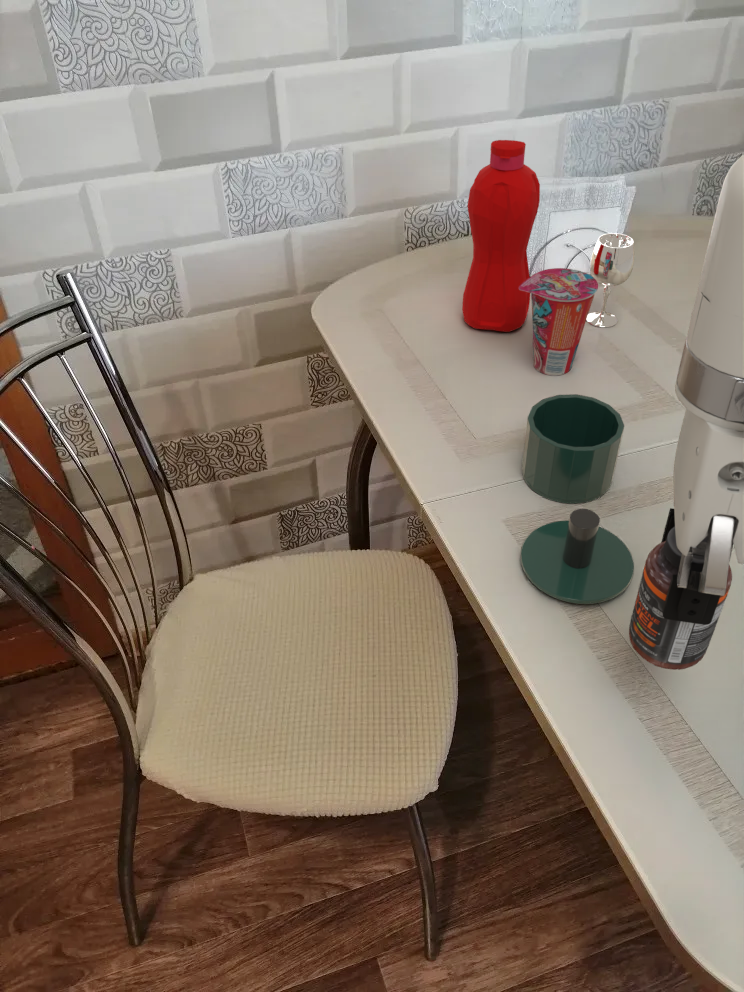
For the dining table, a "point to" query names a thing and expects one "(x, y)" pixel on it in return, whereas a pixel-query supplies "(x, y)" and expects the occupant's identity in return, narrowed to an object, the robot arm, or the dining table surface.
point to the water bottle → (500, 239)
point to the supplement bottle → (648, 627)
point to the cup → (558, 316)
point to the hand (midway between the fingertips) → (684, 582)
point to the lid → (577, 560)
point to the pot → (571, 448)
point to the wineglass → (610, 270)
